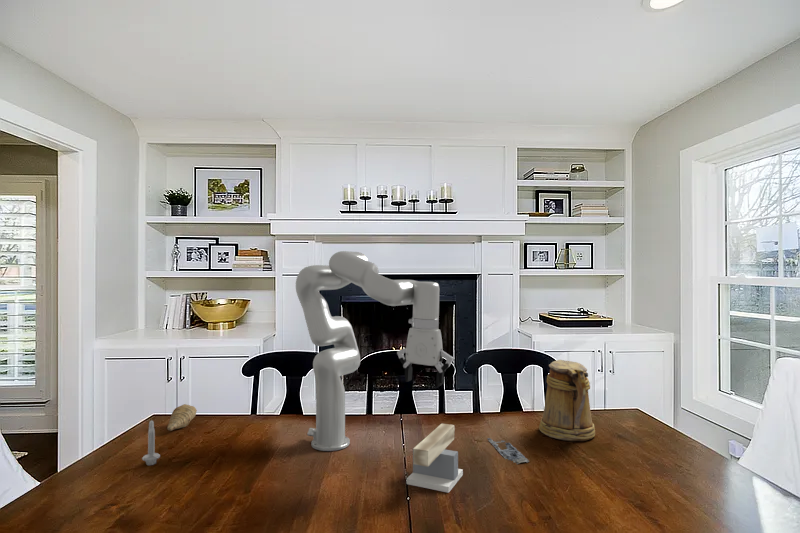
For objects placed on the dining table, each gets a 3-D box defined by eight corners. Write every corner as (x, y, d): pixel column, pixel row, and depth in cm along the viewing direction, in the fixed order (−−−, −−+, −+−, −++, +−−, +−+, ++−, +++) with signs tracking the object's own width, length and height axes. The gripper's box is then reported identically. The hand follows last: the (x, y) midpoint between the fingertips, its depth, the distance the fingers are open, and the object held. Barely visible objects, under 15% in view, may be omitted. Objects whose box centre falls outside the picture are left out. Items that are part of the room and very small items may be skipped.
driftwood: (531, 465, 142) (531, 458, 142) (509, 467, 141) (509, 459, 141) (506, 442, 162) (506, 435, 162) (487, 442, 161) (487, 436, 161)
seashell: (183, 435, 167) (183, 412, 167) (159, 435, 167) (159, 412, 167) (198, 422, 181) (198, 401, 181) (176, 423, 181) (176, 402, 181)
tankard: (577, 423, 179) (577, 357, 179) (613, 446, 156) (612, 370, 156) (531, 425, 177) (531, 358, 177) (560, 449, 154) (560, 371, 154)
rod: (413, 464, 122) (413, 448, 122) (441, 436, 142) (441, 423, 142) (428, 466, 120) (428, 450, 120) (454, 438, 140) (454, 425, 140)
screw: (156, 459, 146) (162, 463, 142) (139, 463, 142) (145, 468, 139) (156, 416, 146) (163, 420, 143) (139, 420, 142) (145, 423, 139)
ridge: (406, 484, 128) (406, 454, 128) (423, 467, 139) (423, 440, 139) (448, 492, 123) (448, 461, 123) (462, 474, 134) (462, 446, 134)
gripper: (393, 323, 138) (391, 381, 138) (449, 328, 130) (447, 390, 130) (404, 320, 145) (402, 376, 145) (458, 325, 137) (456, 384, 137)
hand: (423, 383), depth 138 cm, fingers open, 9 cm apart
